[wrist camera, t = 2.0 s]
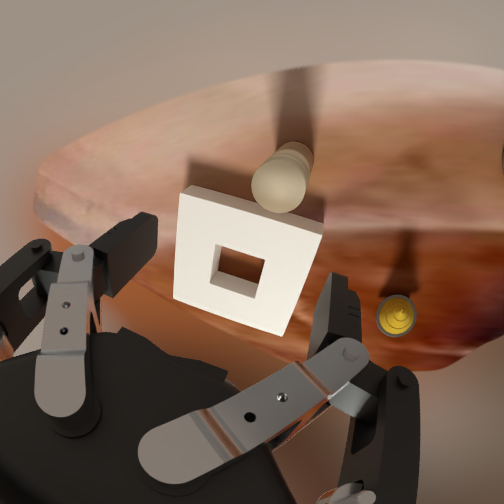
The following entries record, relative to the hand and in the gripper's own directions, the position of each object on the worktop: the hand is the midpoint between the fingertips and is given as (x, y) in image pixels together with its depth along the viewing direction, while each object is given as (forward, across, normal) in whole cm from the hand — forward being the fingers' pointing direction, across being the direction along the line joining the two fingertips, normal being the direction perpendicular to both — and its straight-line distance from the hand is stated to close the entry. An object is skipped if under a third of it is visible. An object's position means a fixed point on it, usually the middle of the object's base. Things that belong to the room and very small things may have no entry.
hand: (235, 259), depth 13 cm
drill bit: (+20, -17, +13) cm, 29 cm away
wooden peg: (+20, 0, 0) cm, 20 cm away
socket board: (+20, +3, +14) cm, 25 cm away
